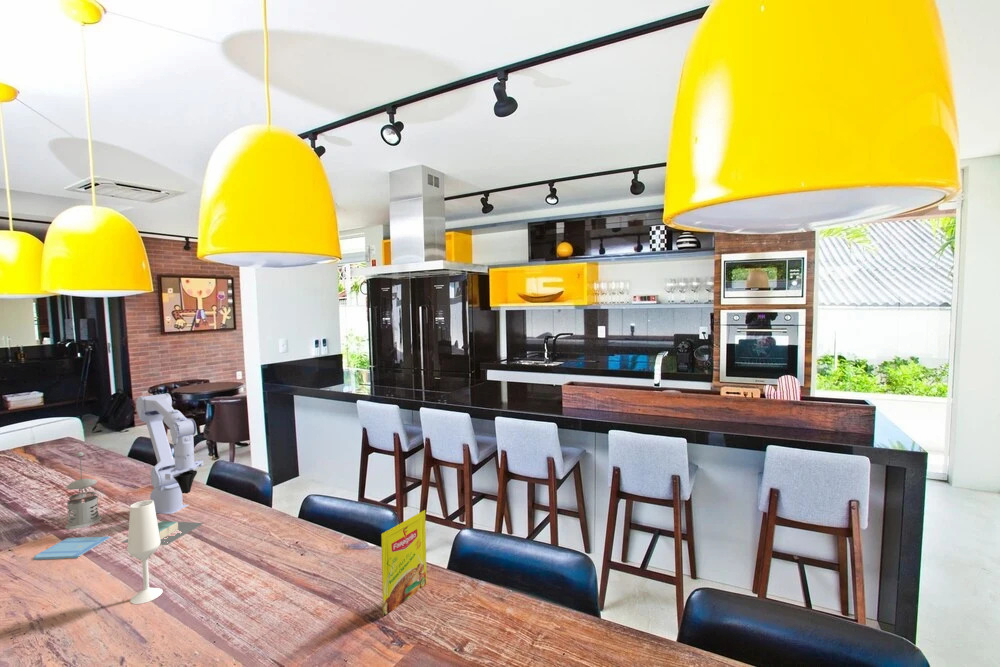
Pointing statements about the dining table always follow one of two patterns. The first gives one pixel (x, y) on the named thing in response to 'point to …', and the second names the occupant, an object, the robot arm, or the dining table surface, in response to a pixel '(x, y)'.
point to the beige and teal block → (167, 528)
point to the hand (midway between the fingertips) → (186, 492)
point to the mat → (182, 527)
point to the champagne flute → (143, 544)
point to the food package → (403, 561)
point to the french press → (82, 504)
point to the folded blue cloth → (70, 548)
